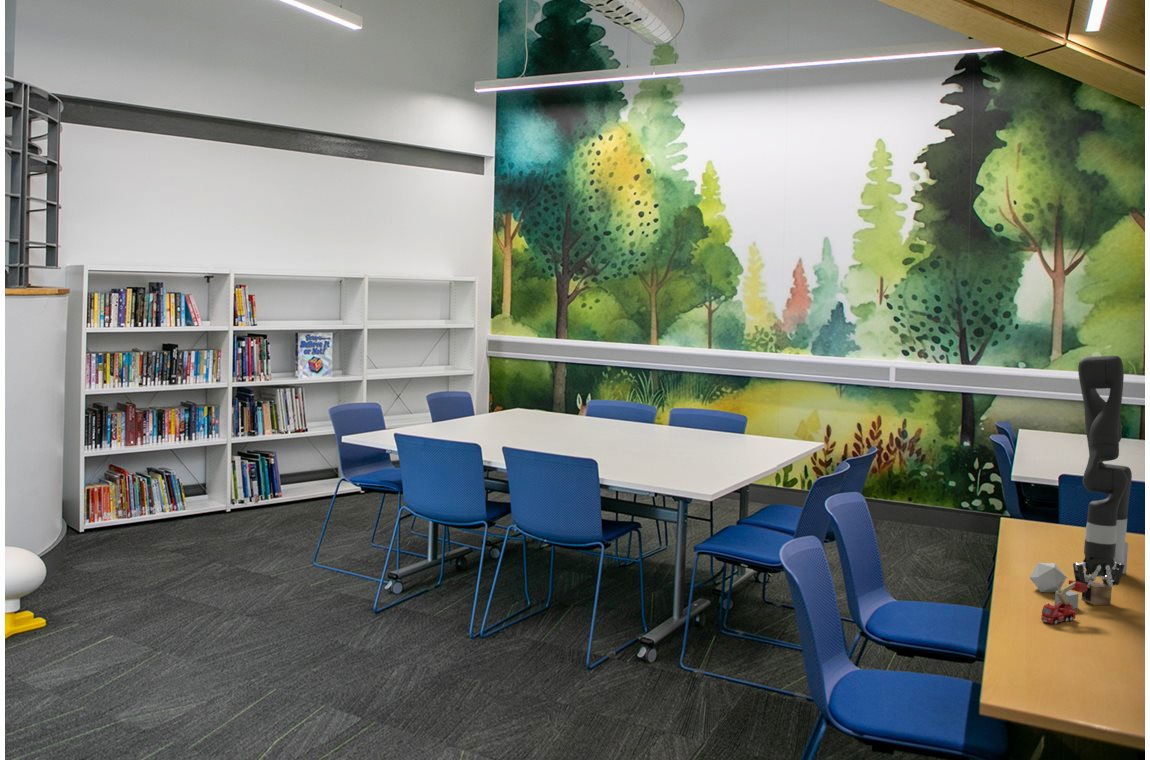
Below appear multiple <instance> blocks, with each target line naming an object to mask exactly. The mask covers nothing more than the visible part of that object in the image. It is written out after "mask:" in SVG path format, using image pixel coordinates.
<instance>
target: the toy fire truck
mask: <svg viewBox="0 0 1150 760" xmlns="http://www.w3.org/2000/svg"><path fill="white" fill-rule="evenodd" d="M1067 591H1072V592H1076V593H1081V594H1082V592H1084V591H1087V584H1084V583H1080V582H1077V581H1075V580H1071V579H1069V580H1068V585H1066V586H1064V587H1063V588H1062V587H1061V589H1059V590H1058V592H1057V593H1056V595H1057V596H1058V598H1059V599H1060V601H1061V602H1060V603H1059V604H1057V605H1056V606H1055V605H1051V604H1050V603H1047V604H1044V605H1043V607H1042V610H1041V619H1040V620H1041V621H1043V622H1044V623H1048V624H1050V625H1051V624H1053V625H1057V624H1058V623H1061V622H1065V623H1067V622H1072V621H1073V620H1074V619H1076V613H1077V612H1076V610H1074V609H1073V605H1071V604H1070V602H1069V599H1068V597H1067V594H1066V592H1067ZM1065 606H1066V607H1065Z"/></svg>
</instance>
